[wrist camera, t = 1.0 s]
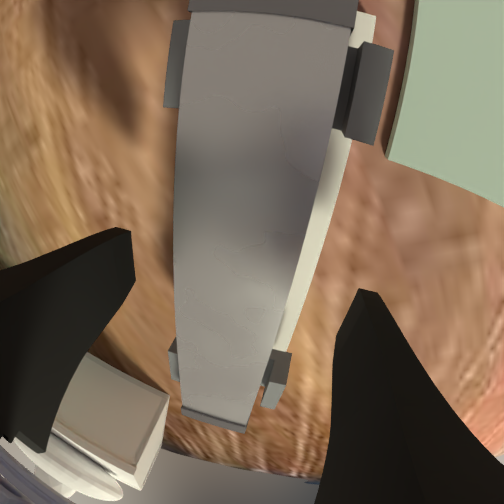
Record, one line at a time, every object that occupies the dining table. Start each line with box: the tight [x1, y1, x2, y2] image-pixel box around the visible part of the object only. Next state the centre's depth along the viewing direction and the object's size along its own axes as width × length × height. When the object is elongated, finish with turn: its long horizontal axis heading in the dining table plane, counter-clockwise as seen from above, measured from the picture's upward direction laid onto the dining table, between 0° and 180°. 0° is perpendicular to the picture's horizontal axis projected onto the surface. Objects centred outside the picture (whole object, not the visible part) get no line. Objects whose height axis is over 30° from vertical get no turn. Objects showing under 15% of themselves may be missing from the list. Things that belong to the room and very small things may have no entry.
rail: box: [173, 0, 359, 433], centre depth 9 cm, size 3×16×3 cm, turn 172°
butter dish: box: [14, 352, 170, 501], centre depth 22 cm, size 18×18×16 cm
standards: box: [163, 11, 394, 409], centre depth 11 cm, size 5×18×4 cm, turn 172°
